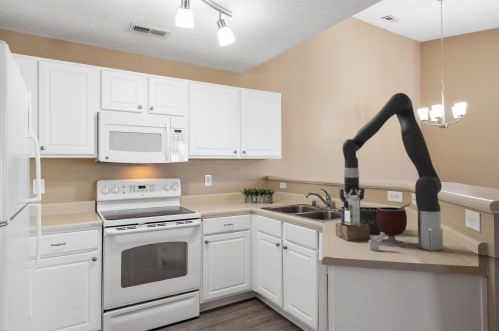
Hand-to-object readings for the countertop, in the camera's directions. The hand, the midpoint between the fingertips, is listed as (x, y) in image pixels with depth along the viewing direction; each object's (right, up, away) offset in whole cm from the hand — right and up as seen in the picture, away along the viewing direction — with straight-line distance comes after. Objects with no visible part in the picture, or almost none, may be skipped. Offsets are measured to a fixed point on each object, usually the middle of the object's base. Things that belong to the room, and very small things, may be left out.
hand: (352, 207), depth 166 cm
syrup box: (0, -9, 0) cm, 9 cm away
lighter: (+3, -16, -25) cm, 30 cm away
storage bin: (+15, -17, +19) cm, 29 cm away
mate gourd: (+16, -16, -13) cm, 26 cm away
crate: (0, -16, 0) cm, 16 cm away
